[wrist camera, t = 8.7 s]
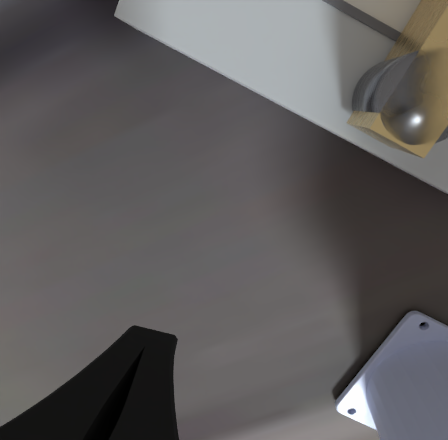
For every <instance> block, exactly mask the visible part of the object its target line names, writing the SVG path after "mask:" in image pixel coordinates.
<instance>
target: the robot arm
mask: <svg viewBox="0 0 448 440" xmlns="http://www.w3.org/2000/svg"><path fill="white" fill-rule="evenodd" d="M422 322H426V323H425V324H424V325H423V326H419V325H420V324H421V323H422ZM177 340H178V339H177V338H176V336H175V335H172V334H168V333H164V332H160V331H156V330H152V329H147V328H143V327H139V326H135V325H134V326H132V327H130V328H129V329H128V330H127V331H126V332H125V333H124V334H123V335H122V336H121V337H120V338H119V339H118V340H117V341H116V342H114V343H113V344H112V345H111V346H110V347H109V348H108V349H107V350H106V351H104V352H103V353H102V354H101V355H100V356H99V357H97V358H96V359H95V360H94V361H93V362H91V363H90V364H89V365H88V366H87V367H85V368H84V369H83V370H82V371H81V372H79V373H78V374H77V375H75V376H74V377H73V378H71V379H70V380H69V381H67V382H66V383H65V384H63V385H62V386H61V387H59V388H58V389H57V390H55V391H54V392H53V393H51V394H50V395H49V396H47V397H46V398H44V399H43V400H41V401H40V402H38V403H37V404H36V405H34V406H33V407H31V408H30V409H28V410H26V411H25V412H23V413H22V414H20V415H19V416H17V417H16V418H14V419H12V420H11V421H9V422H8V423H6V424H4V425H3V426H1V427H0V440H179V437H178V430H177V422H176V413H175V402H174V384H173V366H174V355H175V350H176V345H177ZM335 406H336V409H337V411H338V412H339V413H341V414H343V415H345V416H348V417H350V418H352V419H354V420H356V421H358V422H360V423H363V424H365V425H367V426H369V427H371V428H373V429H375V430H377V431H378V434H379V437H380V440H448V326H447V325H445V324H443V323H441V322H439V321H437V320H435V319H433V318H431V317H429V316H427V315H425V314H423V313H421V312H419V311H411V312H408V313H407V314H406V315H405V316H404V317H403V319H402V320H401V321H400V322H399V324H398V325H397V326H396V327H395V328H394V330H393V331H392V332H391V333H390V335H389V336H388V337H387V338H386V340H385V341H384V342H383V343H382V344H381V346H380V347H379V348H378V349H377V351H376V352H375V353H374V354H373V356H372V357H371V358H370V359H369V360H368V362H367V363H366V364H365V365H364V367H363V368H362V369H361V370H360V371H359V373H358V374H357V375H356V376H355V378H354V379H353V380H352V381H351V383H350V384H349V385H348V386H347V387H346V389H345V390H344V391H343V392H342V394H341V395H340V396H339V397H338V399H337V400H336V402H335ZM350 408H353V409H350Z"/></svg>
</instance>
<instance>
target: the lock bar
mask: <svg viewBox="0 0 448 440" xmlns="http://www.w3.org/2000/svg"><path fill="white" fill-rule="evenodd" d="M352 111H353V113H352V114H351V116H350V118H349V119H348V121H347V124H349V125H351V126H353V127H354V128H356V129H358V130H360V131H362V132H363V133H365V134H367V135H369V136H371V137H373V138H374V139H376V140H378V141H380V142H382V143H383V144H385V145H387V146H389V147H391V148H394V149H397V150H400V151H403V152H406V153H409V154H412V155H415V156H418V157H421V158H425V156H426V155H427V154H428V152H429V151H430V149H431V148H432V147H433V145H434V144H435V143H438V142H441V141H443V140H445V139H447V138H448V0H421V2H420V3H419V5H418V7H417V8H416V10H415V11H414V13H413V15H412V16H411V18H410V20H409V21H408V23H407V24H406V26H405V28H404V29H403V31H402V33H401V34H400V36H399V38H398V39H397V41H396V42H395V44H394V46H393V47H392V49H391V51H390V52H389V54H388V56H387V57H386V59H385V60H384V61H383V62H381V63H378V64H376V65H374V66H373V67H371V68H370V69H369V70H367V71H366V72H365V73H364V74H363V76H362V77H361V78H360V80H359V81H358V83H357V85H356V87H355V89H354V92H353V96H352Z"/></svg>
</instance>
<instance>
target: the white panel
mask: <svg viewBox="0 0 448 440" xmlns="http://www.w3.org/2000/svg"><path fill="white" fill-rule="evenodd" d="M420 2H421V0H119V2H118V5H117V8H116V11H115V14H114V16H115V17H117V18H118V19H120V20H122V21H123V22H125V23H127V24H128V25H130V26H132V27H133V28H135V29H137V30H139V31H141V32H143V33H144V34H146V35H148V36H150V37H152V38H154V39H156V40H158V41H160V42H161V43H163V44H165V45H167V46H169V47H171V48H173V49H175V50H176V51H178V52H180V53H182V54H184V55H186V56H188V57H190V58H192V59H193V60H195V61H197V62H199V63H201V64H203V65H205V66H207V67H209V68H210V69H212V70H214V71H216V72H218V73H220V74H222V75H224V76H225V77H227V78H229V79H231V80H233V81H235V82H237V83H239V84H241V85H242V86H244V87H246V88H248V89H250V90H252V91H254V92H256V93H258V94H259V95H261V96H263V97H265V98H267V99H269V100H271V101H273V102H274V103H276V104H278V105H280V106H282V107H284V108H286V109H288V110H290V111H291V112H293V113H295V114H297V115H299V116H301V117H303V118H305V119H307V120H308V121H310V122H312V123H314V124H316V125H318V126H320V127H322V128H323V129H325V130H327V131H329V132H331V133H333V134H335V135H337V136H339V137H340V138H342V139H344V140H346V141H348V142H350V143H352V144H354V145H356V146H357V147H359V148H361V149H363V150H365V151H367V152H369V153H371V154H372V155H374V156H376V157H378V158H380V159H382V160H384V161H386V162H388V163H389V164H391V165H393V166H395V167H397V168H399V169H401V170H403V171H405V172H406V173H408V174H410V175H412V176H414V177H416V178H418V179H420V180H421V181H423V182H425V183H427V184H429V185H431V186H433V187H435V188H437V189H438V190H440V191H442V192H444V193H446V194H448V138H447V139H445V140H443V141H441V142H438V143H435V144H434V145H433V147H432V148H431V149H430V151H429V152H428V154H427V155H426V156H425V158H421V157H418V156H415V155H412V154H409V153H406V152H403V151H400V150H397V149H394V148H391V147H389V146H387V145H385V144H383V143H382V142H380V141H378V140H376V139H374V138H373V137H371V136H369V135H367V134H365V133H363V132H362V131H360V130H358V129H356V128H354V127H353V126H351V125H349V124H347V121H348V119H349V118H350V116H351V114H352V113H353V111H352V96H353V92H354V89H355V87H356V85H357V83H358V81H359V80H360V78H361V77H362V76H363V74H364V73H365V72H366V71H367V70H369V69H370V68H371V67H373V66H374V65H376V64H378V63H381V62H383V61H384V60H385V59H386V57H387V56H388V54H389V52H390V51H391V49H392V47H393V46H394V44H395V42H396V41H397V39H398V38H399V36H400V34H401V33H402V31H403V29H404V28H405V26H406V24H407V23H408V21H409V20H410V18H411V16H412V15H413V13H414V11H415V10H416V8H417V7H418V5H419V3H420Z"/></svg>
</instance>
